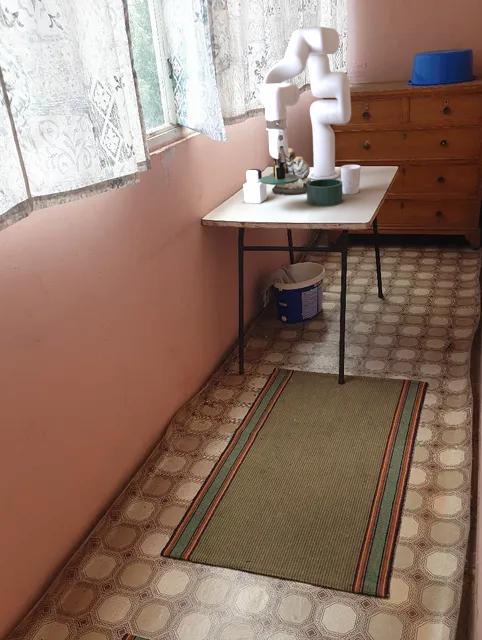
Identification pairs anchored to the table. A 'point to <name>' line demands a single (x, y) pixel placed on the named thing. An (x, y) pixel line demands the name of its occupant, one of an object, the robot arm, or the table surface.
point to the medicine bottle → (254, 187)
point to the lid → (274, 181)
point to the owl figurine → (296, 168)
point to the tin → (324, 192)
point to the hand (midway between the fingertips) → (279, 177)
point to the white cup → (350, 179)
